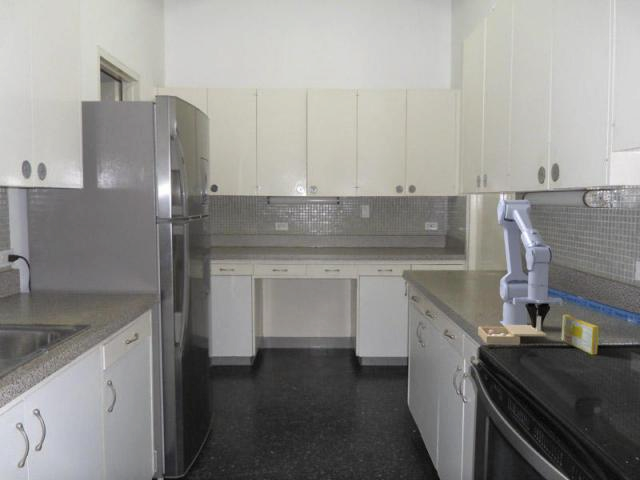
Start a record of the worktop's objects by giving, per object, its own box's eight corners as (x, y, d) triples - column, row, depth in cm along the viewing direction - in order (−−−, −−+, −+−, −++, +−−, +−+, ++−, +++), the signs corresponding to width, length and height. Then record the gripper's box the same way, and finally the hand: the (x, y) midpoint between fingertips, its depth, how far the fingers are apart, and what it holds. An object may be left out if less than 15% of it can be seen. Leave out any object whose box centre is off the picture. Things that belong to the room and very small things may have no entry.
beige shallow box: (478, 334, 180) (478, 326, 180) (509, 334, 179) (509, 327, 179) (486, 344, 168) (486, 336, 168) (519, 345, 167) (520, 336, 167)
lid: (503, 326, 179) (504, 310, 178) (534, 326, 178) (534, 311, 178) (513, 335, 167) (514, 319, 167) (546, 336, 167) (546, 319, 166)
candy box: (598, 354, 157) (599, 326, 156) (591, 355, 157) (592, 326, 156) (567, 339, 173) (568, 314, 172) (560, 340, 173) (561, 314, 172)
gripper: (517, 286, 168) (516, 330, 169) (566, 286, 167) (565, 330, 168) (511, 282, 175) (510, 324, 176) (558, 283, 174) (557, 325, 175)
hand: (536, 327), depth 172 cm, fingers closed on lid
